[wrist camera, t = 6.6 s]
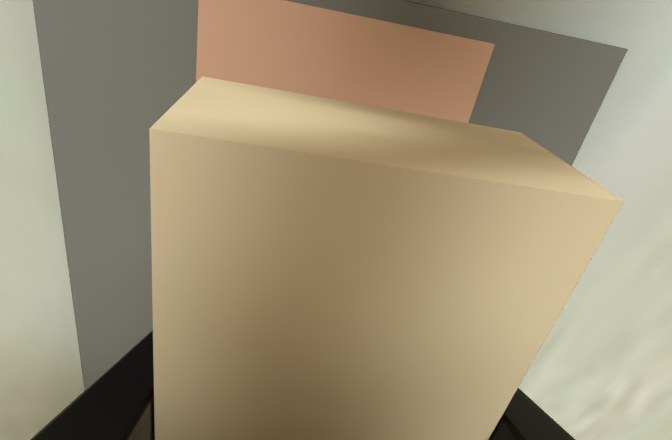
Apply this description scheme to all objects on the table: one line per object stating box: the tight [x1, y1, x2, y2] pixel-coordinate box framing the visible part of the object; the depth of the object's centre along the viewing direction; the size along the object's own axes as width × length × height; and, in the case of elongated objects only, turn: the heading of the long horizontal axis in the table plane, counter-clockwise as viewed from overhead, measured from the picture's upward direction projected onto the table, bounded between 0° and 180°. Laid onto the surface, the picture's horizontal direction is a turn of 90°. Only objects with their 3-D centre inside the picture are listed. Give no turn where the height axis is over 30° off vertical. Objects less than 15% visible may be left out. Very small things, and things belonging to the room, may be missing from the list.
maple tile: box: [149, 76, 624, 440], centre depth 7 cm, size 5×9×2 cm, turn 169°
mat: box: [33, 0, 628, 390], centre depth 15 cm, size 20×14×1 cm
